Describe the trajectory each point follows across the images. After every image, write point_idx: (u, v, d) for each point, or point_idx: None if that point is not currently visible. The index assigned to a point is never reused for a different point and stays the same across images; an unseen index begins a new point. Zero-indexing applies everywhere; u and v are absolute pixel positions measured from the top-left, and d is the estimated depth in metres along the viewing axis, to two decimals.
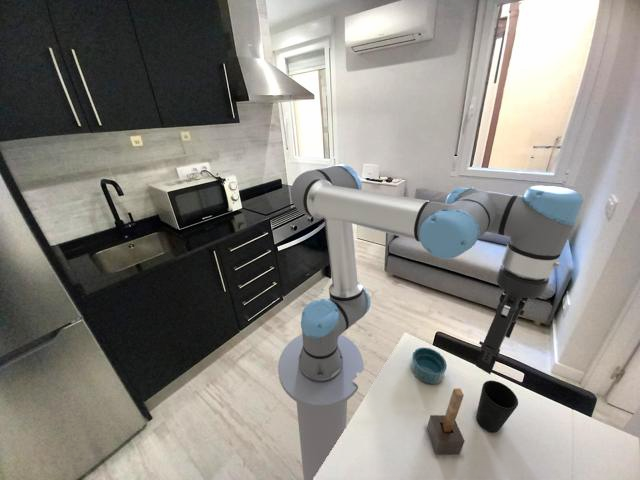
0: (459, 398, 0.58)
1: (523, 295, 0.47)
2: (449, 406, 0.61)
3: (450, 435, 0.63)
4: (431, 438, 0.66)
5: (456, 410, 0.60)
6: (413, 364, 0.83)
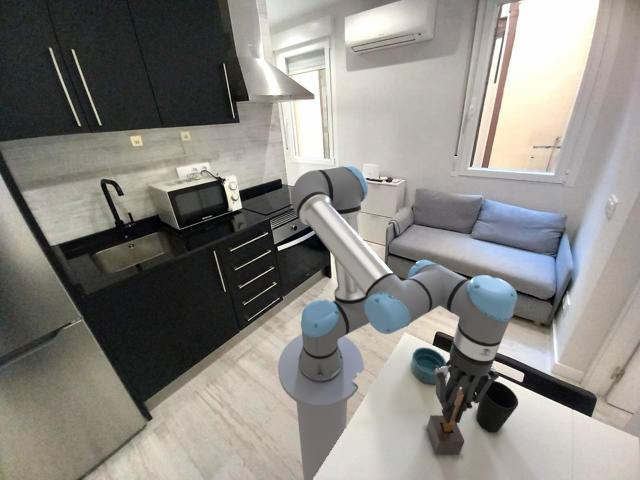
0: (459, 398, 0.58)
1: (456, 364, 0.52)
2: None
3: (450, 435, 0.63)
4: (431, 438, 0.66)
5: (456, 410, 0.60)
6: (413, 364, 0.83)
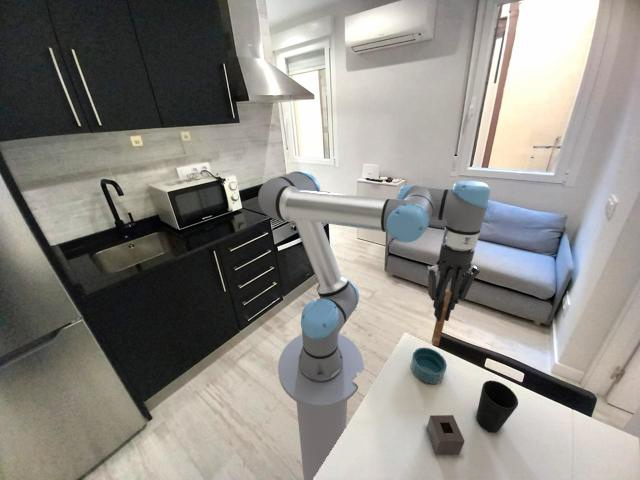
0: (448, 295, 0.70)
1: (444, 259, 0.64)
2: None
3: (450, 435, 0.63)
4: (431, 438, 0.66)
5: (445, 308, 0.72)
6: (413, 364, 0.83)
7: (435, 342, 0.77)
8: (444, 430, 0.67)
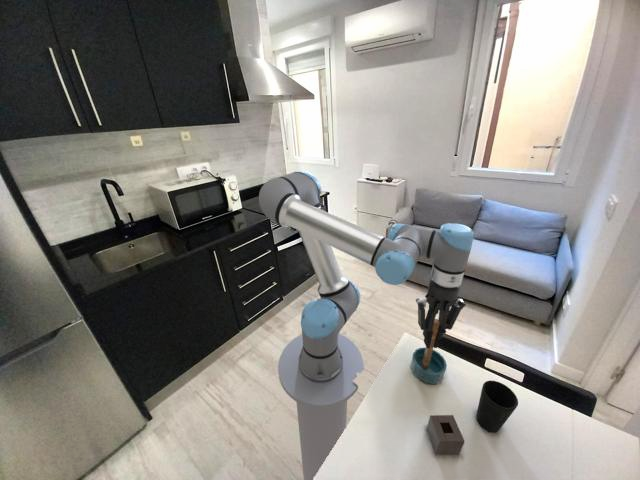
0: (436, 325, 0.74)
1: (432, 294, 0.69)
2: None
3: (450, 435, 0.63)
4: (431, 438, 0.66)
5: (434, 337, 0.76)
6: (413, 364, 0.83)
7: (425, 367, 0.82)
8: (444, 430, 0.67)
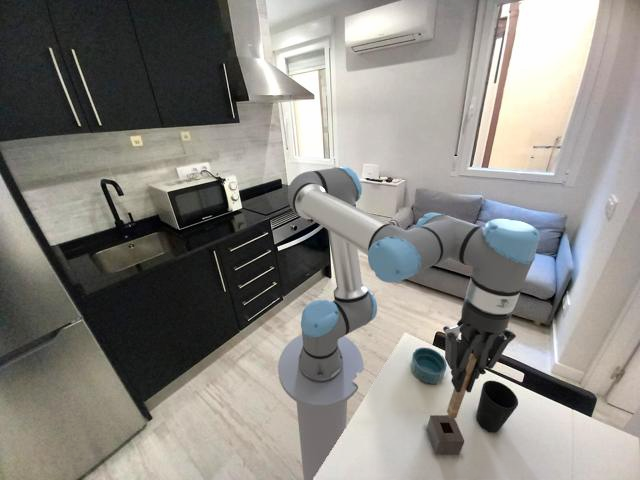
0: (471, 363, 0.53)
1: (469, 321, 0.47)
2: None
3: (450, 435, 0.63)
4: (431, 438, 0.66)
5: (467, 378, 0.55)
6: (413, 364, 0.83)
7: (452, 414, 0.61)
8: (444, 430, 0.67)
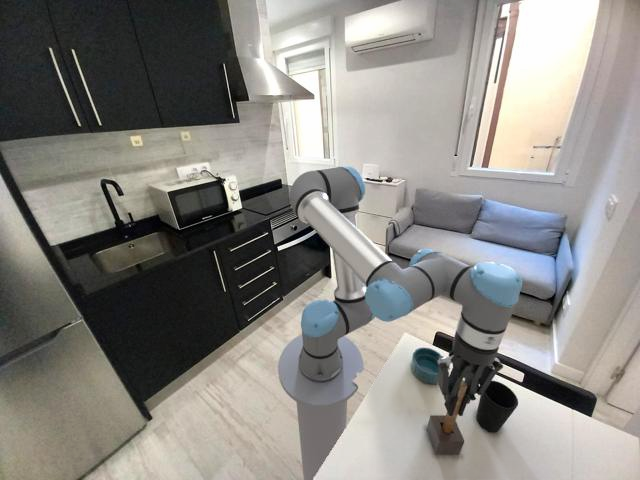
0: (462, 390, 0.57)
1: (459, 354, 0.51)
2: None
3: (450, 435, 0.63)
4: (431, 438, 0.66)
5: (459, 402, 0.58)
6: (413, 364, 0.83)
7: None
8: None
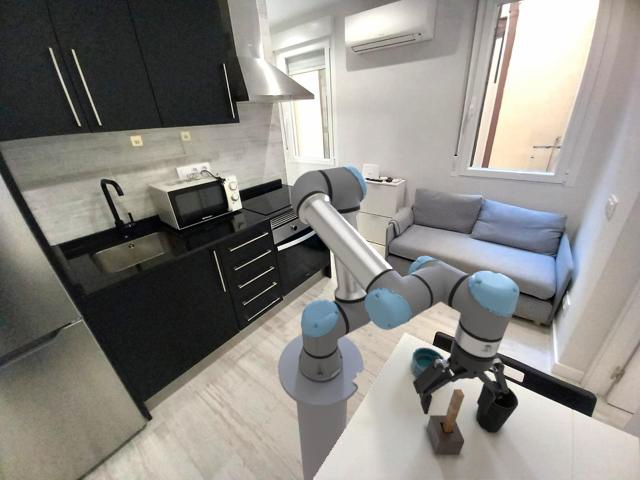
0: (460, 399, 0.58)
1: (457, 361, 0.52)
2: (449, 407, 0.61)
3: (450, 435, 0.63)
4: (431, 438, 0.66)
5: (457, 411, 0.60)
6: (413, 364, 0.83)
7: None
8: None
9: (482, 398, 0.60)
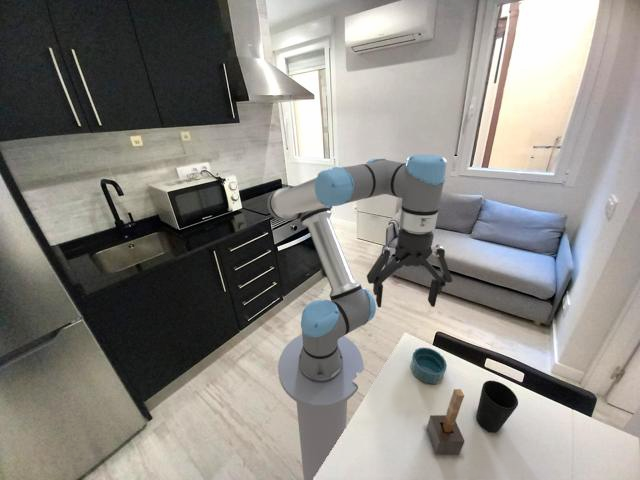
0: (459, 399, 0.58)
1: (400, 244, 0.57)
2: (449, 407, 0.61)
3: (450, 435, 0.63)
4: (431, 438, 0.66)
5: (456, 411, 0.60)
6: (413, 364, 0.83)
7: None
8: None
9: (431, 292, 0.65)
